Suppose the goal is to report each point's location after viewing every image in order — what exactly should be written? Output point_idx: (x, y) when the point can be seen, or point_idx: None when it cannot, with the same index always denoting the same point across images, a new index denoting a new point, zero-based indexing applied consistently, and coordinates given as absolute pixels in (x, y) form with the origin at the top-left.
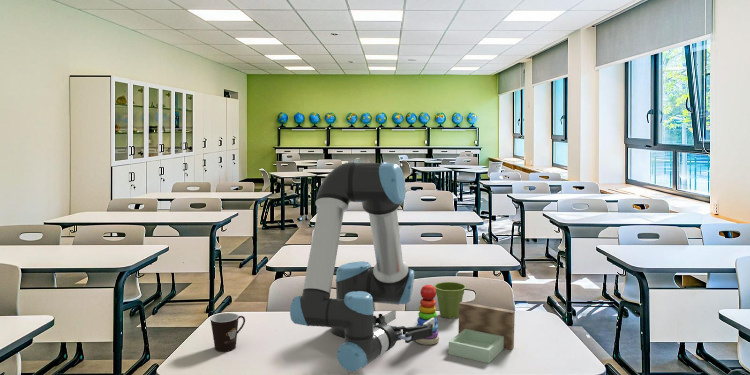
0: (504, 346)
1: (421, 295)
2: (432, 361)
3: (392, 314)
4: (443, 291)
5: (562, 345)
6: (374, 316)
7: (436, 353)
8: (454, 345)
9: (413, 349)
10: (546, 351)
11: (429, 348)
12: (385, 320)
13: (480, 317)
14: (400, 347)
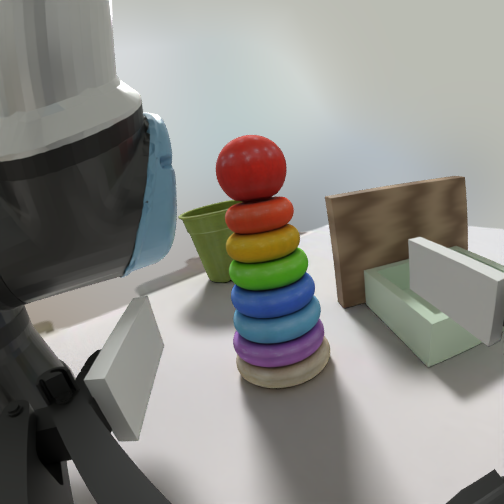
0: None
1: (232, 184)
2: (457, 437)
3: (142, 329)
4: (215, 216)
5: (474, 234)
6: (14, 412)
7: (397, 392)
8: (450, 326)
9: (299, 432)
10: (491, 248)
11: (340, 388)
12: (122, 409)
13: (398, 218)
14: (235, 452)
